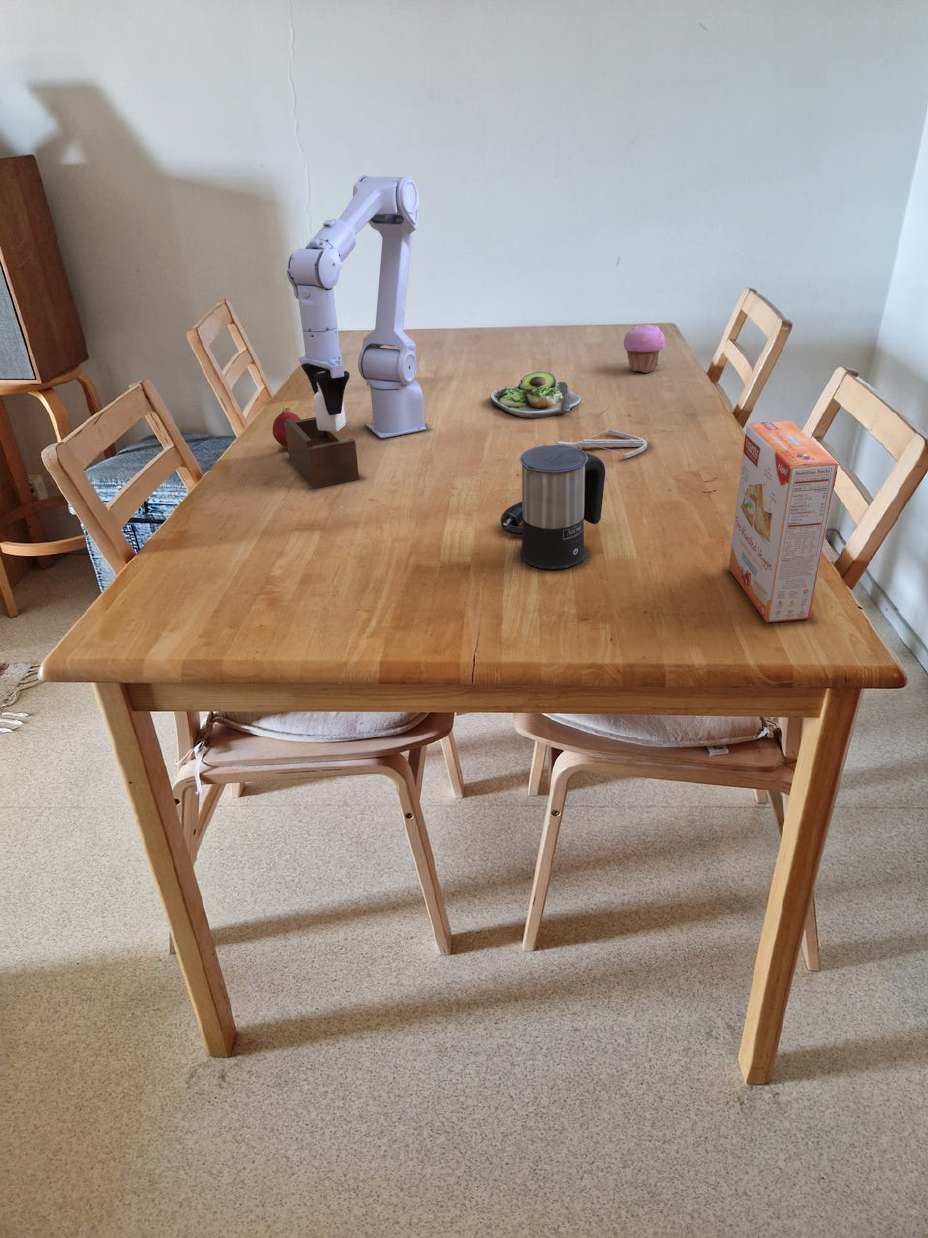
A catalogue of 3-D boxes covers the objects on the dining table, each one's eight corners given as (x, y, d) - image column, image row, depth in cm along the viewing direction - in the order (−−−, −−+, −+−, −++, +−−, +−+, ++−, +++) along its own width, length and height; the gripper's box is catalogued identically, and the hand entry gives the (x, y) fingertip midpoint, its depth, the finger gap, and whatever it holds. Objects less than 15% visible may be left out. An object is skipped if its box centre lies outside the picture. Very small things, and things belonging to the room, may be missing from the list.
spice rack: (331, 451, 164) (326, 409, 160) (359, 479, 153) (354, 434, 149) (289, 459, 162) (283, 417, 157) (314, 488, 150) (308, 443, 146)
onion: (300, 455, 163) (294, 413, 159) (270, 454, 164) (264, 412, 160) (311, 444, 168) (305, 402, 164) (282, 443, 169) (276, 401, 165)
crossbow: (637, 437, 167) (638, 426, 166) (654, 463, 156) (655, 451, 155) (552, 437, 165) (553, 426, 164) (563, 463, 155) (564, 451, 154)
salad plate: (603, 412, 177) (604, 389, 174) (522, 427, 171) (522, 404, 169) (557, 386, 192) (557, 364, 190) (481, 399, 186) (480, 377, 184)
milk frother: (566, 577, 121) (569, 474, 113) (467, 551, 129) (464, 454, 121) (610, 535, 131) (615, 438, 124) (516, 514, 139) (515, 421, 131)
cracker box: (724, 570, 121) (744, 421, 110) (768, 566, 122) (792, 418, 110) (763, 625, 109) (789, 464, 98) (811, 621, 110) (842, 460, 99)
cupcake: (668, 368, 200) (672, 322, 195) (653, 378, 194) (657, 331, 189) (631, 363, 204) (634, 318, 199) (615, 373, 198) (618, 327, 193)
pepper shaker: (347, 425, 155) (341, 370, 150) (337, 433, 152) (330, 377, 147) (326, 423, 157) (320, 369, 152) (316, 431, 153) (309, 376, 148)
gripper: (283, 321, 150) (294, 401, 157) (309, 341, 138) (320, 425, 146) (324, 316, 152) (333, 394, 159) (352, 334, 141) (360, 417, 148)
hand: (329, 409), depth 153 cm, fingers closed on pepper shaker, 5 cm apart
